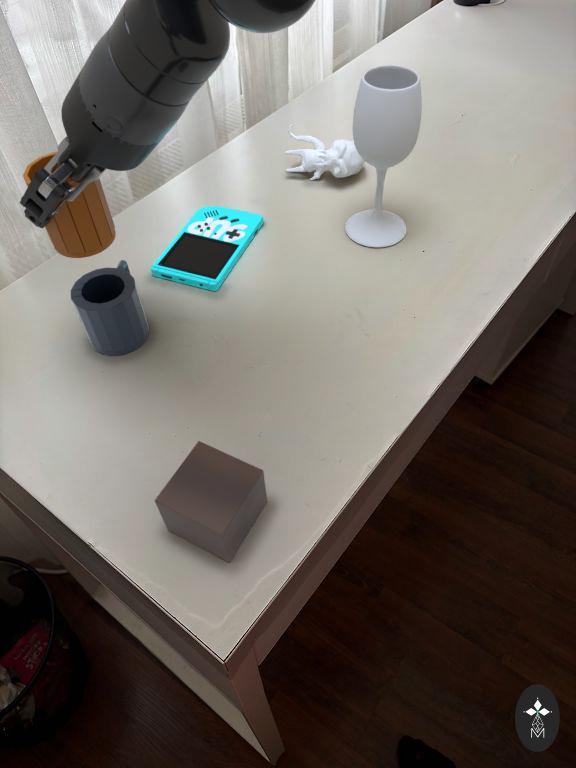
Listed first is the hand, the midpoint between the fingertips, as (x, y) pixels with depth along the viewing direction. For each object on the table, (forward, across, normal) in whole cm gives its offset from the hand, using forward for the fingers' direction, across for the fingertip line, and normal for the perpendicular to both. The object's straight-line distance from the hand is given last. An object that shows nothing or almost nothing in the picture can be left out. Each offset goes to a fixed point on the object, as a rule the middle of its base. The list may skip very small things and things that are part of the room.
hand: (57, 198), depth 58 cm
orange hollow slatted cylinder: (+2, 0, +4) cm, 5 cm away
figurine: (+5, -42, +22) cm, 48 cm away
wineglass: (-4, -31, +31) cm, 44 cm away
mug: (+12, -1, +14) cm, 19 cm away
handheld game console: (+10, -19, +16) cm, 27 cm away
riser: (-4, +17, +30) cm, 35 cm away
